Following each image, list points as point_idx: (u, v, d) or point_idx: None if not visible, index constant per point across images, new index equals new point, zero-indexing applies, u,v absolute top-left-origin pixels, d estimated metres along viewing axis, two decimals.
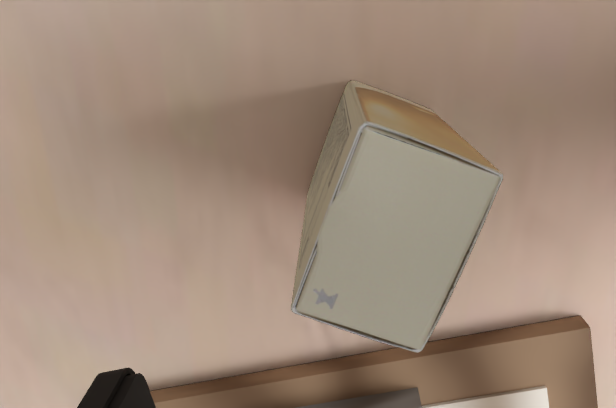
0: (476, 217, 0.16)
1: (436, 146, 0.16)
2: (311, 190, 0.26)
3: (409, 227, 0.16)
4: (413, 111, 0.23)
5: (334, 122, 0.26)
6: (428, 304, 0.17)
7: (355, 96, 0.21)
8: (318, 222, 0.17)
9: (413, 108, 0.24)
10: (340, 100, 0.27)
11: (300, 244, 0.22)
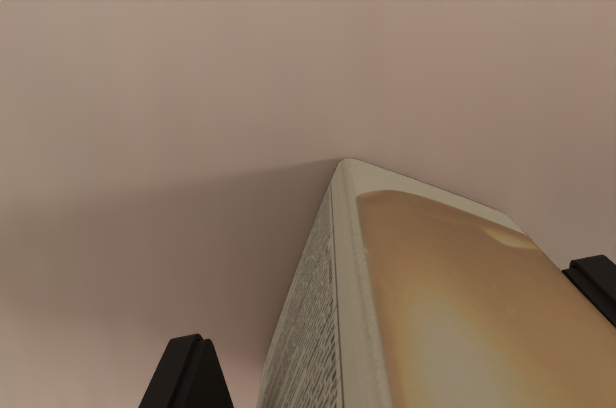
0: None
1: None
2: (263, 400, 0.12)
3: None
4: (505, 272, 0.09)
5: (311, 256, 0.12)
6: None
7: (360, 266, 0.07)
8: None
9: (491, 243, 0.10)
10: (324, 197, 0.13)
11: None
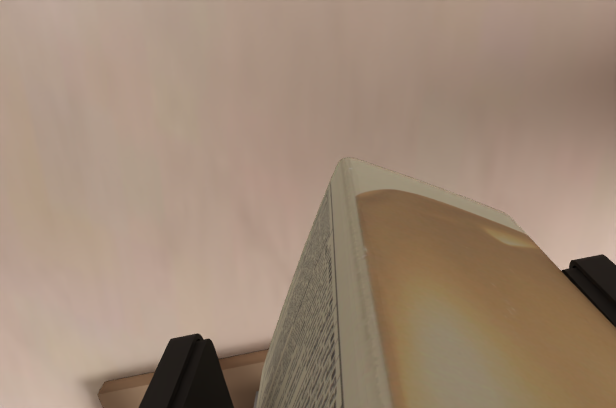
0: None
1: None
2: (263, 399, 0.12)
3: None
4: (504, 271, 0.09)
5: (310, 256, 0.12)
6: None
7: (360, 265, 0.07)
8: None
9: (491, 242, 0.10)
10: (324, 197, 0.13)
11: None
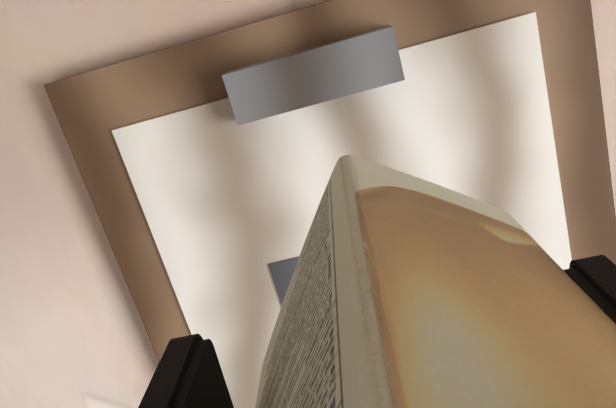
0: None
1: None
2: (262, 396, 0.12)
3: None
4: (504, 267, 0.09)
5: (310, 253, 0.12)
6: None
7: (359, 260, 0.07)
8: None
9: (491, 239, 0.10)
10: (323, 194, 0.13)
11: None
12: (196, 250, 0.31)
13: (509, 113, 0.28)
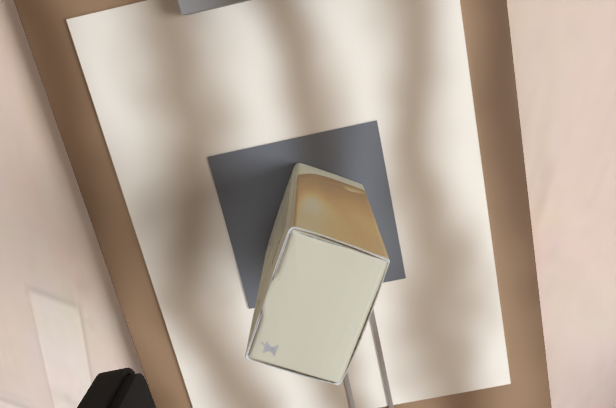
0: (373, 289, 0.23)
1: (342, 242, 0.22)
2: (267, 252, 0.32)
3: (326, 297, 0.23)
4: (341, 195, 0.29)
5: (284, 198, 0.32)
6: (343, 350, 0.24)
7: (294, 189, 0.28)
8: (264, 292, 0.24)
9: (343, 190, 0.31)
10: None
11: (256, 301, 0.28)
12: (140, 140, 0.33)
13: (427, 21, 0.31)
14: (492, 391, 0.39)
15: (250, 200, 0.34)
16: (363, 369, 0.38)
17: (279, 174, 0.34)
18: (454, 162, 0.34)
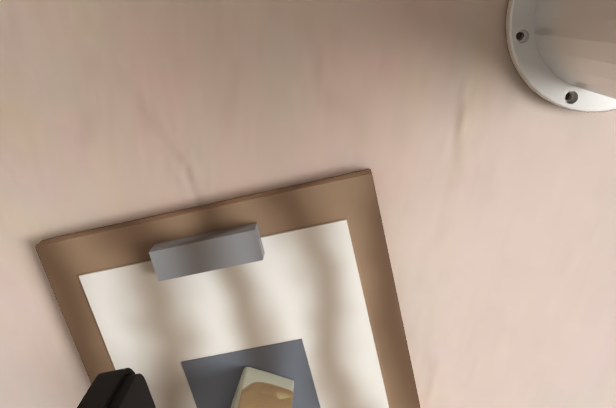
0: None
1: None
2: None
3: None
4: None
5: (234, 398, 0.45)
6: None
7: None
8: None
9: (274, 399, 0.44)
10: None
11: None
12: (133, 351, 0.47)
13: (333, 277, 0.44)
14: None
15: (213, 389, 0.47)
16: None
17: (233, 373, 0.47)
18: (359, 365, 0.46)
